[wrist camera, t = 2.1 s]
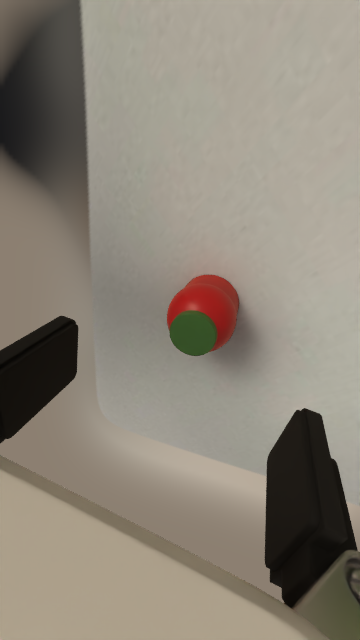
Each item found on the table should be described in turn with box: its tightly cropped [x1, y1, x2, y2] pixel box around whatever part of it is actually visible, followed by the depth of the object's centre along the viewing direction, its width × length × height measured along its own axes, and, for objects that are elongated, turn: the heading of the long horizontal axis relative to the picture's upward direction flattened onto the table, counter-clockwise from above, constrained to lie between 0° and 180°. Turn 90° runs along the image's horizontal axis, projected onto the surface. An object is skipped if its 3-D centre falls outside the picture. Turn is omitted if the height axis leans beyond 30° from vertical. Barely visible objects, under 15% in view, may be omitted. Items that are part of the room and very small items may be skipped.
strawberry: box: [167, 275, 239, 356], centre depth 16 cm, size 4×4×5 cm
